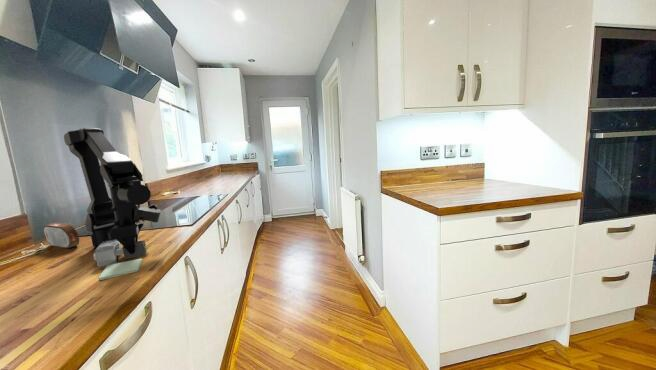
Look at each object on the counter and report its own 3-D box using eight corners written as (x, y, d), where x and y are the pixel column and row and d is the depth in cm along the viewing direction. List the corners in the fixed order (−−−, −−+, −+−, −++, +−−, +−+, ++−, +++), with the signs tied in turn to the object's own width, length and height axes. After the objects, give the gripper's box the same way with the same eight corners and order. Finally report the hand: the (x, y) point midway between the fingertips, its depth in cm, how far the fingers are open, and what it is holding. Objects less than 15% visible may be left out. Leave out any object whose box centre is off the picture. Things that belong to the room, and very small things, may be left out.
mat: (142, 260, 74) (142, 258, 74) (137, 271, 68) (137, 269, 67) (107, 267, 71) (107, 265, 71) (99, 280, 64) (98, 278, 64)
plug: (149, 250, 82) (147, 239, 81) (148, 254, 79) (146, 243, 78) (97, 260, 76) (95, 249, 75) (94, 265, 72) (91, 253, 72)
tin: (82, 246, 88) (77, 223, 86) (70, 250, 85) (65, 226, 83) (56, 243, 93) (51, 221, 91) (44, 246, 90) (39, 223, 88)
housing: (122, 253, 80) (119, 238, 79) (116, 263, 73) (112, 247, 72) (105, 256, 78) (102, 241, 77) (97, 267, 71) (94, 250, 70)
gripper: (153, 203, 71) (162, 255, 74) (159, 193, 87) (166, 236, 90) (102, 210, 66) (113, 265, 69) (119, 198, 82) (127, 243, 85)
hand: (133, 251), depth 78 cm, fingers closed on plug, 4 cm apart
